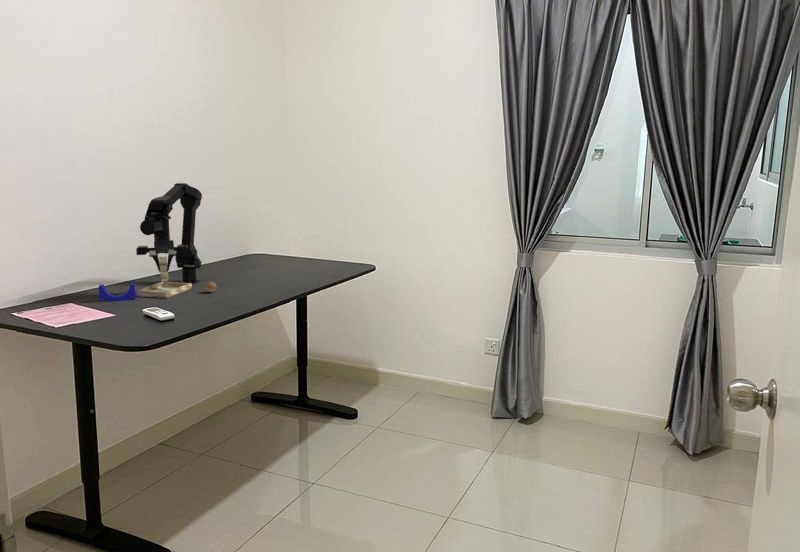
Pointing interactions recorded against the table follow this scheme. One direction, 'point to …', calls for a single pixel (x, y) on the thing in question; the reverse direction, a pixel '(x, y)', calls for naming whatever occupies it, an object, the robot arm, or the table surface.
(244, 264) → the table surface
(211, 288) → the bead
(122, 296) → the cable clip
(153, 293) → the tray
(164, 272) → the tall beige post
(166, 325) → the table surface
